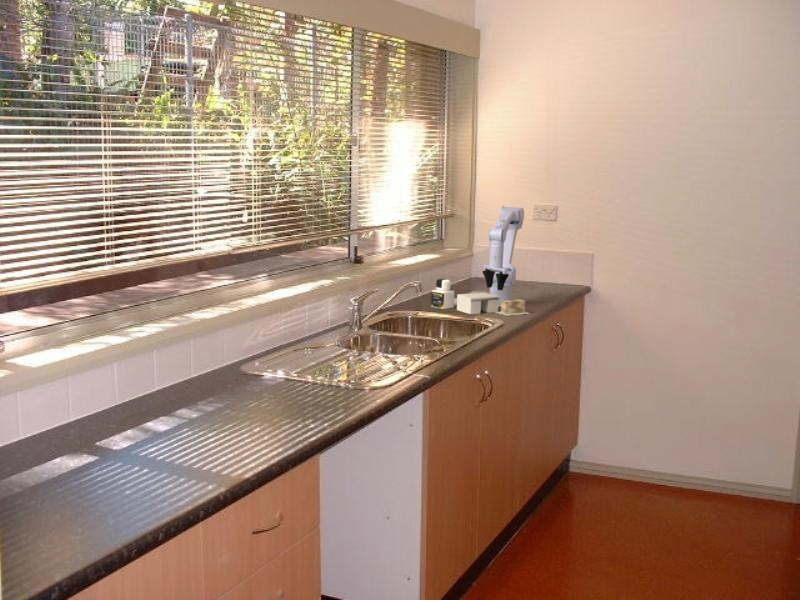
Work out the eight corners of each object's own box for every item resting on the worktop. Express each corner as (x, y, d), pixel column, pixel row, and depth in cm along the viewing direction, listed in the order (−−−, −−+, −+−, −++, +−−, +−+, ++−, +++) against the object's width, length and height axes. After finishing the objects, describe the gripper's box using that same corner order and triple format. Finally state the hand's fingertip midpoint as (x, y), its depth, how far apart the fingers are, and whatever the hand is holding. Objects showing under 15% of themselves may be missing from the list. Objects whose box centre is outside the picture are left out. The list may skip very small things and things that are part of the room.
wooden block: (519, 311, 399) (520, 299, 398) (524, 312, 396) (525, 300, 395) (500, 312, 394) (501, 300, 393) (505, 313, 391) (505, 302, 390)
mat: (495, 312, 395) (495, 311, 395) (518, 310, 401) (518, 309, 401) (507, 316, 389) (507, 315, 388) (530, 314, 395) (530, 313, 395)
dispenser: (456, 310, 398) (457, 294, 397) (483, 308, 406) (484, 292, 404) (470, 314, 390) (471, 298, 389) (498, 312, 397) (499, 296, 396)
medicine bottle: (430, 306, 404) (431, 279, 402) (441, 305, 409) (442, 277, 407) (443, 309, 399) (444, 281, 397) (454, 307, 404) (455, 279, 402)
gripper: (478, 254, 400) (476, 286, 402) (499, 259, 388) (497, 291, 390) (492, 254, 404) (490, 285, 406) (512, 258, 391) (511, 291, 394)
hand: (494, 288), depth 398 cm, fingers open, 7 cm apart
